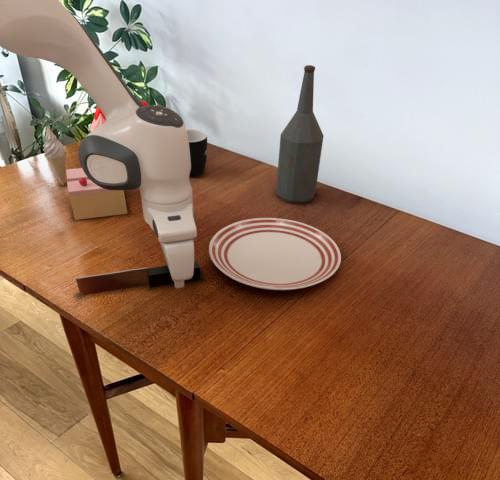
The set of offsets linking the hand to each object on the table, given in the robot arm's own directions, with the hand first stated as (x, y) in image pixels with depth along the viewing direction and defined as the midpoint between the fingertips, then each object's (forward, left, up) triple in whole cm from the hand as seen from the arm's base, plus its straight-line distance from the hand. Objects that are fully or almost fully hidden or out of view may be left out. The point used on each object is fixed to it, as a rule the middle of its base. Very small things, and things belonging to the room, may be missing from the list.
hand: (174, 272), depth 91 cm
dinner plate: (+21, +1, -2) cm, 22 cm away
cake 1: (-1, +61, -2) cm, 61 cm away
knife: (-7, 0, -2) cm, 7 cm away
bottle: (+37, +28, -2) cm, 47 cm away
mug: (+14, +49, -2) cm, 51 cm away
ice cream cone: (-20, +48, -2) cm, 52 cm away
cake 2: (-12, +35, -2) cm, 37 cm away
